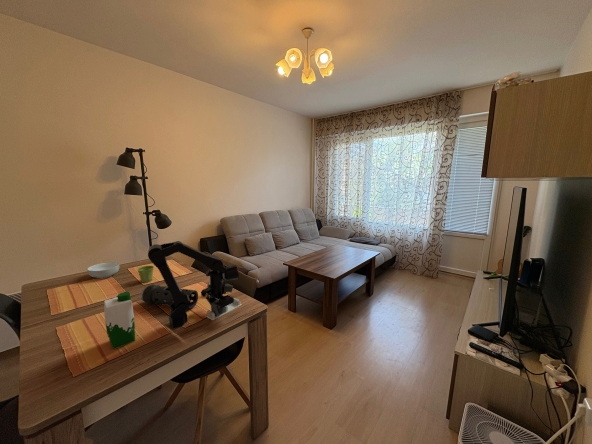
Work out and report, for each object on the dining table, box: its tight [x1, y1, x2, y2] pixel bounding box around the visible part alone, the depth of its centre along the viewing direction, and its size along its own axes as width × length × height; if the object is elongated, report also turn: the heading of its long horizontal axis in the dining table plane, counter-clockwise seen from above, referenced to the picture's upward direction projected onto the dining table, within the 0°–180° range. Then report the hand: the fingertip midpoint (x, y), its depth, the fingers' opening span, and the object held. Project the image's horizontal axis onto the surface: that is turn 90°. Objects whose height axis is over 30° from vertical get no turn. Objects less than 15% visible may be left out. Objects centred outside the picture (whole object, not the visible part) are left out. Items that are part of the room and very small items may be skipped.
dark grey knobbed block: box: [210, 299, 224, 317], centre depth 114 cm, size 4×4×7 cm
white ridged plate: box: [205, 297, 243, 321], centre depth 118 cm, size 18×7×3 cm, turn 144°
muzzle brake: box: [140, 284, 199, 310], centre depth 121 cm, size 10×28×10 cm, turn 78°
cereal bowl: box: [86, 261, 120, 279], centre depth 157 cm, size 17×17×7 cm
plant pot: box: [136, 265, 155, 283], centre depth 151 cm, size 9×9×9 cm
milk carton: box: [103, 291, 136, 350], centre depth 94 cm, size 9×9×20 cm
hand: (217, 312), depth 115 cm, fingers closed on dark grey knobbed block, 4 cm apart
